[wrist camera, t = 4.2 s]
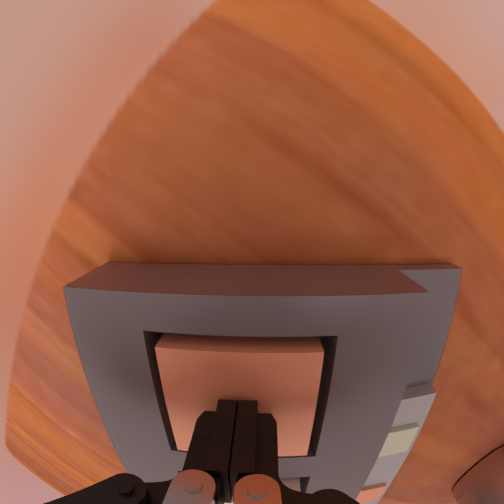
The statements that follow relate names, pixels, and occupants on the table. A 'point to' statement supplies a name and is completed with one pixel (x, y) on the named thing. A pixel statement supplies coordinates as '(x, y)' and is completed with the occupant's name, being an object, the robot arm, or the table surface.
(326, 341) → the keypad
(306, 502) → the robot arm
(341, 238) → the table surface
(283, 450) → the key terracotta
